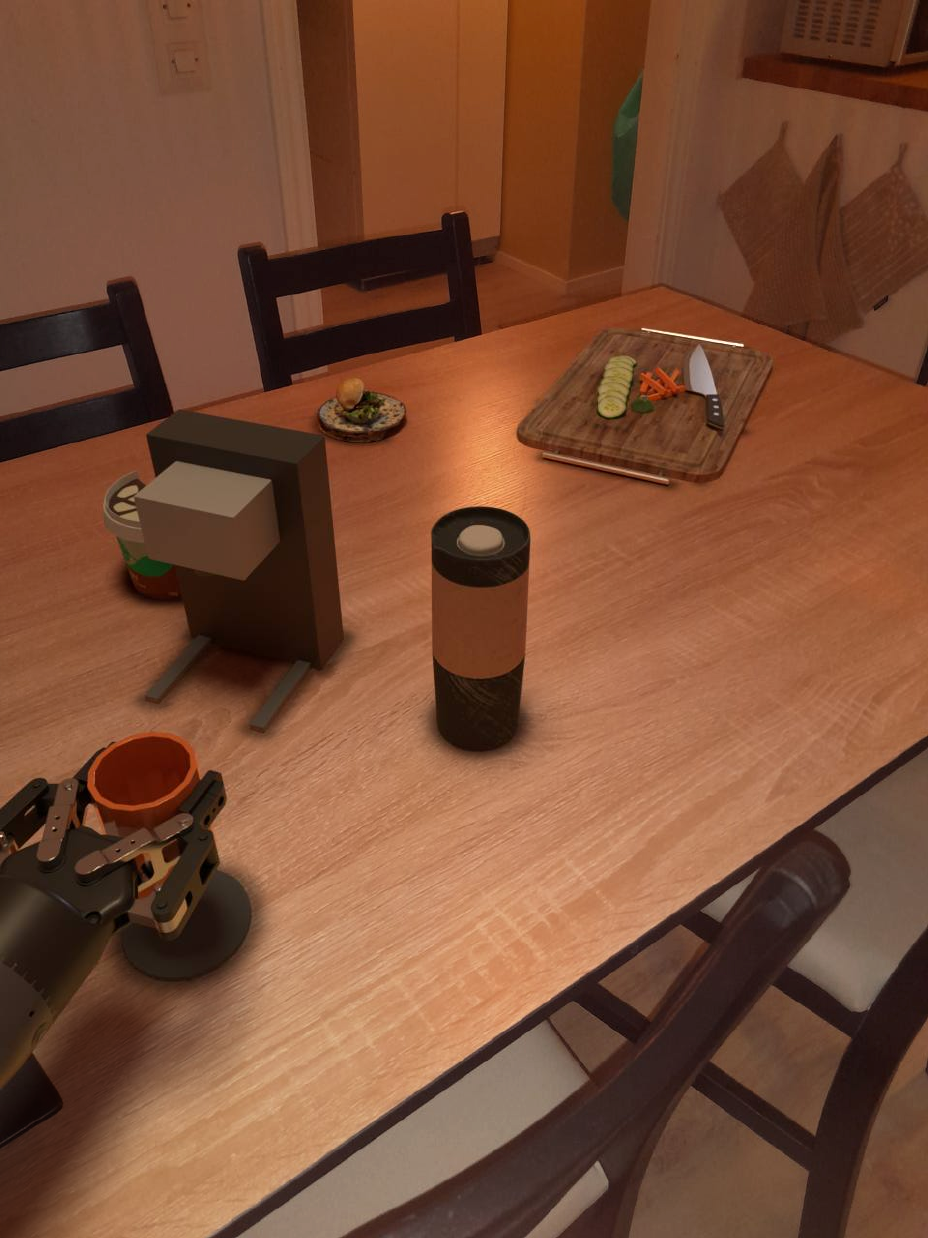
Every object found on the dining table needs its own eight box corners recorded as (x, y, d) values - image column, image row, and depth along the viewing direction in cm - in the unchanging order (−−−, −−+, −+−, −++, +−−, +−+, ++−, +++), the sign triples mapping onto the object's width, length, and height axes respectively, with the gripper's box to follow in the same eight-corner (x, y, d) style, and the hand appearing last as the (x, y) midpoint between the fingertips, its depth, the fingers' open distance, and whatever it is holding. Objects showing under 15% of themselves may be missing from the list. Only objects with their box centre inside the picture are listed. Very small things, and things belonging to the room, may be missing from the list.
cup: (98, 877, 63) (64, 783, 58) (167, 812, 68) (142, 719, 62) (171, 919, 61) (143, 826, 55) (238, 849, 65) (218, 755, 60)
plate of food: (395, 447, 124) (392, 393, 119) (306, 439, 125) (300, 385, 121) (415, 406, 133) (414, 354, 128) (332, 399, 135) (328, 347, 130)
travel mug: (537, 715, 86) (551, 524, 73) (490, 768, 81) (496, 573, 68) (465, 682, 89) (467, 494, 76) (416, 731, 84) (409, 538, 72)
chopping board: (608, 327, 155) (610, 308, 153) (778, 355, 147) (782, 336, 145) (502, 451, 123) (502, 429, 121) (710, 497, 115) (715, 474, 113)
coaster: (94, 945, 67) (92, 940, 67) (183, 854, 74) (182, 849, 73) (192, 1005, 64) (190, 1000, 64) (277, 904, 70) (276, 899, 70)
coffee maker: (136, 699, 87) (76, 486, 73) (218, 609, 97) (178, 408, 84) (274, 737, 83) (238, 521, 70) (344, 639, 94) (325, 435, 80)
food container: (100, 570, 102) (77, 488, 96) (153, 548, 106) (134, 468, 99) (155, 625, 95) (134, 540, 89) (211, 599, 99) (194, 516, 92)
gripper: (85, 995, 45) (262, 752, 57) (-153, 906, 49) (61, 695, 61) (120, 1075, 50) (276, 834, 62) (-100, 988, 54) (89, 777, 66)
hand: (169, 766), depth 62 cm, fingers closed on cup, 6 cm apart
